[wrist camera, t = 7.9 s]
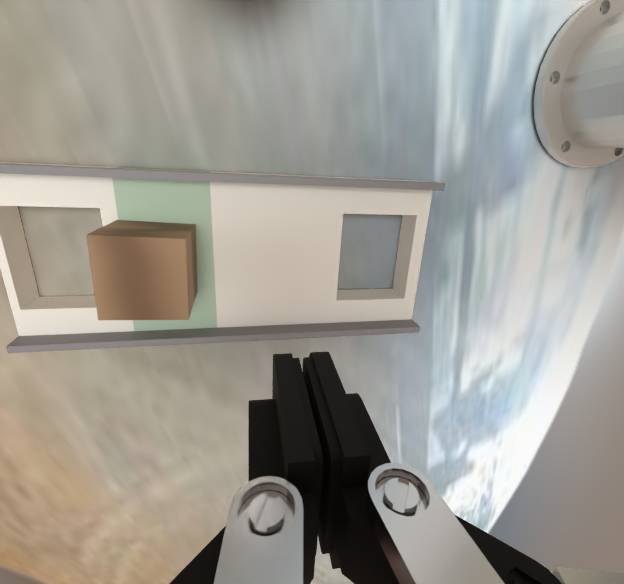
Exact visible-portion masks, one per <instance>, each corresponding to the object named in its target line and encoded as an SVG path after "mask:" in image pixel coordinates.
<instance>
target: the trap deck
mask: <svg viewBox="0 0 624 584" xmlns="http://www.w3.org/2000/svg"><path fill="white" fill-rule="evenodd" d="M444 186H445V183H436V182H427V181H418V180H396V179H374V178H351V177H329V176H307V175H284V174H262V173H240V172H217V171H195V170H173V169H150V168H128V167H106V166H83V165H61V164H39V163H17V162H0V268H1V272H2V276H3V279H4V283H5V287H6V290H7V294H8V297H9V301H10V305H11V308H12V312H13V316H14V319H15V323H16V327H17V330H18V334H19V337H17V338H16V339H15V340H14V341H12V342H11V343H10V344H9V345H7V346H6V348H7V352H8V353H21V352H41V351H61V350H80V349H100V348H120V347H139V346H159V345H179V344H198V343H218V342H238V341H258V340H277V339H297V338H317V337H336V336H356V335H376V334H395V333H415V332H419V329H420V327H419V326H418V325H417V324H416V323H415V322H414V321H413V320H412V314H413V308H414V302H415V296H416V290H417V284H418V278H419V272H420V265H421V259H422V253H423V247H424V241H425V235H426V229H427V223H428V217H429V210H430V204H431V198H432V192H433V190H438V191H444ZM18 206H35V207H78V208H100V212H101V219H102V225H103V227H104V226H106V225H108V224H110V223H112V222H114V221H116V220H127V221H146V222H165V223H185V224H196V254H197V291H198V292H197V295H196V298H195V301H194V304H193V308H192V311H191V314H190V317H189V320H98V316H97V308H96V301H95V295H87V296H43V297H39V292H38V288H37V284H36V280H35V276H34V272H33V268H32V263H31V259H30V255H29V251H28V247H27V243H26V239H25V234H24V230H23V226H22V222H21V218H20V214H19V210H18ZM343 214H384V215H402V222H401V229H400V237H399V244H398V251H397V259H396V266H395V273H394V280H393V288H392V289H350V290H337V286H338V273H339V261H340V248H341V235H342V223H343Z"/></svg>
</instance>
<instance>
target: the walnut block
mask: <svg viewBox="0 0 624 584" xmlns="http://www.w3.org/2000/svg"><path fill="white" fill-rule="evenodd" d="M87 242H88V249H89V257H90V264H91V271H92V279H93V286H94V294H95V301H96V308H97V316H98V320H189V317H190V314H191V311H192V308H193V304H194V301H195V298H196V295H197V292H198V291H197V254H196V224H185V223H165V222H146V221H127V220H116V221H114V222H112V223H110V224H108V225H106V226H104V227H102V228H99V229H97V230H95V231H93V232H91V233H89V234H87Z"/></svg>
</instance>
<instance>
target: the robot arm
mask: <svg viewBox="0 0 624 584" xmlns="http://www.w3.org/2000/svg"><path fill="white" fill-rule="evenodd" d="M534 118H535V124H536V129H537V133H538V135H539V138H540V140H541V143H542V144H543V146H544V147H545V149H546V150H547V152H548V153H549V154H550V155H551V156H552V157H553V158H555V159H556V160H557V161H559V162H561V163H563V164H565V165H567V166H572V167H577V168H593V167H599V166H604V165H607V164H609V163H612V162H614V161H616V160H618V159H619V158H621V157H623V156H624V0H592V1H591V2H589V3H588V4H586V5H584V6H583V7H581V8H580V9H579V10H578V11H577V12H576V13H575V14H574V15H573V16H571V17H570V18H569V19H568V21H567V22H566V23H565V24H564V26H563V27H562V28H561V29H560V31H559V32H558V33H557V35H556V37H555V38H554V40H553V42H552V43H551V45H550V47H549V48H548V50H547V53H546V55H545V57H544V60H543V62H542V65H541V67H540V71H539V75H538V78H537V82H536V88H535V95H534ZM317 537H319V542H320V548H321V552H322V554H326V553H329V554H330V559H331V564H332V569H336V568H341V572H342V574H343V575H344V576H346V577H347V578H348V579H350V580H351V581H352V582H353V583H354V584H624V573H615V572H607V571H598V570H597V571H596V570H589V569H579V568H571V567H561V566H555V568H554V570H553V571H549V570H548V569H547V568H545V567H544V566H542V565H541V564H539V563H538V562H537V561H535V560H533V559H532V558H530V557H528V556H526V555H525V554H523V553H521V552H519V551H517V550H516V549H514V548H512V547H510V546H509V545H507V544H505V543H503V542H502V541H500V540H498V539H496V538H495V537H493V536H491V535H489V534H488V533H486V532H484V531H482V530H481V529H479V528H477V527H475V526H473V525H472V524H470V523H468V522H466V521H465V520H463V519H461V518H459V517H458V516H456V515H454V514H453V512H452V511H451V510H450V508H449V507H448V505H447V504H446V503H445V501H444V500H443V499H442V497H441V496H440V495H439V493H438V492H437V490H436V489H435V488H434V486H433V485H432V484H431V482H430V481H429V480H428V479H427V478H426V477H425V476H424V475H423V474H422V473H420V472H419V471H417V470H416V469H414V468H412V467H410V466H407V465H405V464H399V463H391V462H390V460H389V458H388V455H387V453H386V451H385V449H384V447H383V445H382V442H381V440H380V438H379V436H378V434H377V432H376V429H375V427H374V425H373V423H372V421H371V419H370V416H369V414H368V412H367V410H366V408H365V406H364V404H363V401H362V399H361V397H360V396H359V394H357V393H355V394H346V393H345V390H344V388H343V385H342V383H341V381H340V378H339V376H338V373H337V371H336V368H335V366H334V363H333V361H332V358H331V356H330V354H329V352H313V353H310V356H309V357H308V358H304V359H303V372H302V368H301V364H300V360H299V358H293V357H292V354H273V399H267V400H252V401H249V482H248V483H246V484H245V485H244V486H242V487H241V488H240V489H239V490H238V492H237V493H236V494H235V496H234V498H233V500H232V503H231V505H230V509H229V514H228V518H227V523H226V526H225V527H224V528H223V529H222V530H221V531H220V532H219V533H218V535H217V536H216V537H215V538H214V539H213V540H212V541H211V542H210V543H209V544H208V545H207V546H206V547H205V548H204V549H203V550H202V551H201V552H200V553H199V554H198V555H197V556H196V557H195V558H194V559H193V560H192V561H191V562H190V563H189V564H188V565H187V566H186V567H185V568H184V569H183V570H182V571H181V572H180V573H179V574H178V576H177V577H176V578H175V579H174V580H173V581H172V582H171V583H170V584H310V583H311V581H312V579H313V577H314V565H315V555H316V549H317Z"/></svg>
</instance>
